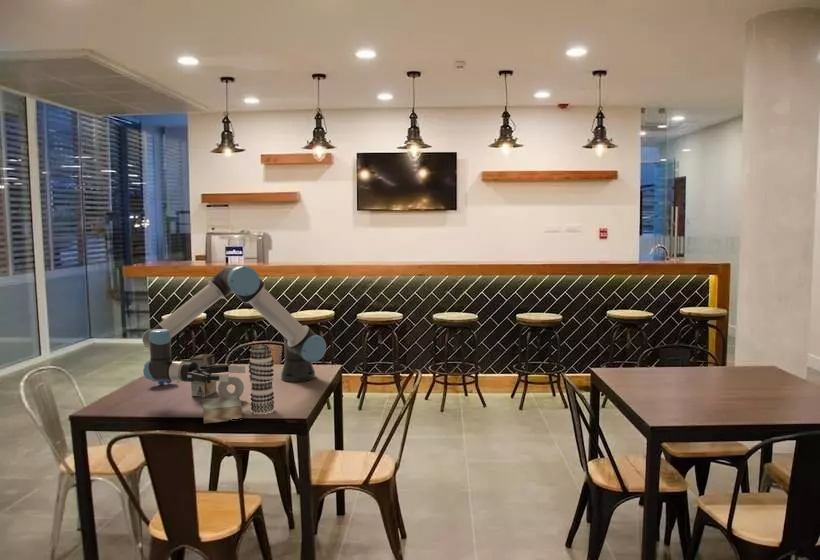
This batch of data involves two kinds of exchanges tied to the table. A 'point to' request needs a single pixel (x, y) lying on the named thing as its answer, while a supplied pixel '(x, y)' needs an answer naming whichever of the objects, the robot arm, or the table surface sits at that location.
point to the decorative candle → (261, 379)
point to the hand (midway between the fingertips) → (236, 373)
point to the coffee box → (206, 388)
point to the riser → (221, 409)
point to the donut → (234, 381)
